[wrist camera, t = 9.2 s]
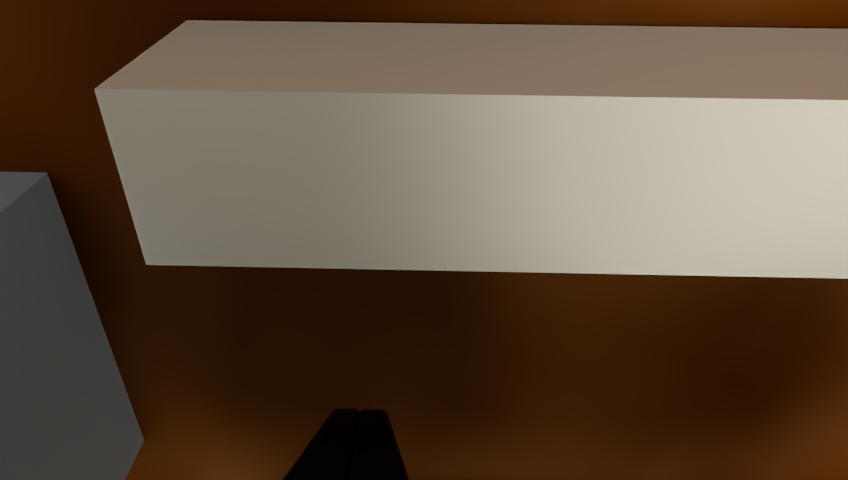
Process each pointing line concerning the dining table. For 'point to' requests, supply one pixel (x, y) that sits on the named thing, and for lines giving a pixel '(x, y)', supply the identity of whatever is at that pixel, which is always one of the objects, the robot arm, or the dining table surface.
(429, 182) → the chute
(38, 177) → the block
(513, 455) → the dining table surface
